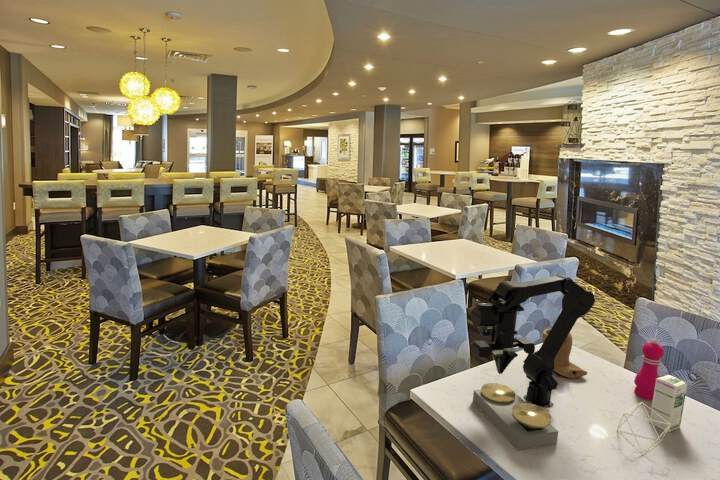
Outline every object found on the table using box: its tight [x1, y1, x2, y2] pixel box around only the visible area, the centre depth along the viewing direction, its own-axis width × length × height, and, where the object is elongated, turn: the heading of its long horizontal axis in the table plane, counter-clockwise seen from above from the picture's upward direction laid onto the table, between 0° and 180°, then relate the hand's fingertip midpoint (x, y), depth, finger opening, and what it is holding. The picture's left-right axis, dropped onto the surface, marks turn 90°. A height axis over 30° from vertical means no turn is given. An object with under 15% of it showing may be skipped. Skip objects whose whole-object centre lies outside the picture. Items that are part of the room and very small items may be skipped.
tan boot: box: [541, 327, 588, 379], centre depth 165 cm, size 15×12×15 cm
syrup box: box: [648, 374, 688, 433], centre depth 134 cm, size 6×6×14 cm
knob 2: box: [512, 402, 552, 432], centre depth 125 cm, size 10×10×5 cm
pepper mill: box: [633, 338, 665, 401], centre depth 150 cm, size 7×7×20 cm
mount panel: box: [472, 388, 559, 451], centre depth 133 cm, size 12×24×4 cm, turn 15°
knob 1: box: [480, 382, 516, 404], centre depth 141 cm, size 10×10×5 cm
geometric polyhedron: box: [616, 401, 671, 456], centre depth 126 cm, size 12×11×9 cm
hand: (499, 373), depth 139 cm, fingers closed
